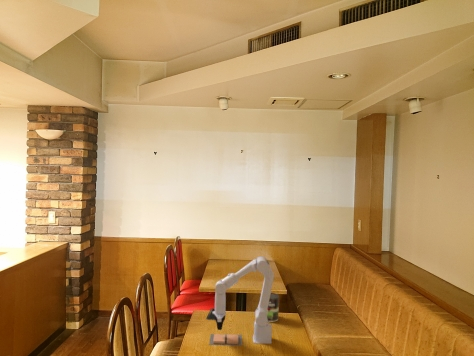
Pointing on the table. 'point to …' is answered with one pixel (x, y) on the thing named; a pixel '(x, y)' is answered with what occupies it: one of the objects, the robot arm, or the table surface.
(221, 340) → the tile
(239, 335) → the mat
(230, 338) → the tile
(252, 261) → the robot arm
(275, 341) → the table surface
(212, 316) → the phone
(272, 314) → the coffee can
